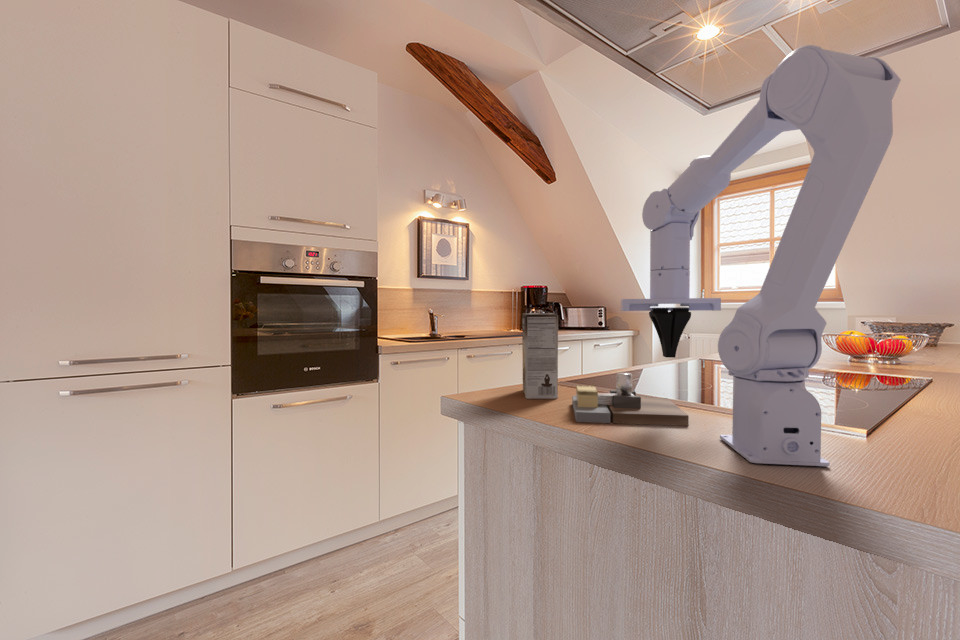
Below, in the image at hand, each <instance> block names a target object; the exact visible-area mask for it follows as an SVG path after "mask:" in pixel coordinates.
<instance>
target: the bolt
mask: <svg viewBox="0 0 960 640" xmlns="http://www.w3.org/2000/svg"><path fill="white" fill-rule="evenodd" d="M616 390H617V393H610V392H598V405H613V395H622V396H635V395H634V394H632V391H633V373H630V372H617V373H616ZM577 404H578V393H577Z"/></svg>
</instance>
